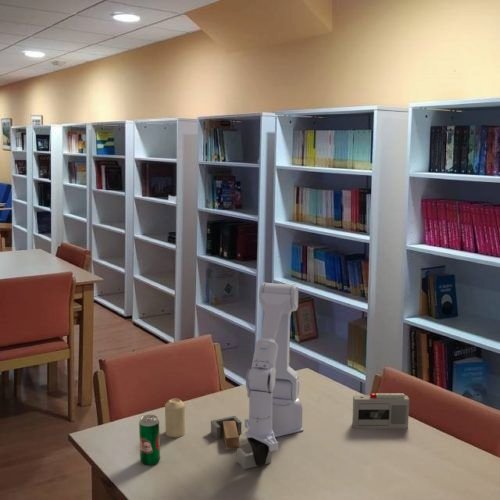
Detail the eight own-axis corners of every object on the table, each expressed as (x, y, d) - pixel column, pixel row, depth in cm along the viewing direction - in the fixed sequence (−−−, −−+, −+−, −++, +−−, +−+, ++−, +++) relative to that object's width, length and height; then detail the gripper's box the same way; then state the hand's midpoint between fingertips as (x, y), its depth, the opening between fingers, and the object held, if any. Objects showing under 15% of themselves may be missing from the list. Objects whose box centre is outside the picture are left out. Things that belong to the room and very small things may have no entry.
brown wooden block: (235, 432, 173) (235, 420, 172) (239, 449, 163) (239, 437, 162) (222, 432, 172) (222, 421, 172) (226, 450, 162) (226, 438, 162)
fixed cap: (234, 426, 175) (234, 415, 175) (241, 433, 171) (241, 422, 171) (210, 432, 172) (210, 420, 171) (217, 439, 168) (217, 427, 167)
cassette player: (353, 428, 174) (354, 396, 173) (352, 424, 177) (353, 392, 175) (407, 428, 174) (409, 396, 173) (405, 424, 177) (407, 392, 175)
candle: (181, 438, 168) (181, 404, 167) (162, 436, 169) (162, 403, 168) (187, 429, 174) (187, 396, 172) (169, 427, 175) (168, 395, 173)
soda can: (136, 462, 155) (134, 419, 153) (149, 454, 160) (148, 412, 157) (150, 468, 153) (149, 424, 151) (164, 460, 157) (163, 417, 155)
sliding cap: (262, 454, 159) (263, 442, 159) (270, 462, 155) (271, 450, 155) (237, 461, 156) (237, 448, 156) (244, 469, 152) (244, 456, 152)
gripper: (233, 405, 155) (234, 454, 157) (259, 429, 142) (259, 482, 144) (258, 400, 158) (258, 448, 160) (285, 423, 145) (285, 475, 147)
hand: (260, 464), depth 152 cm, fingers closed
